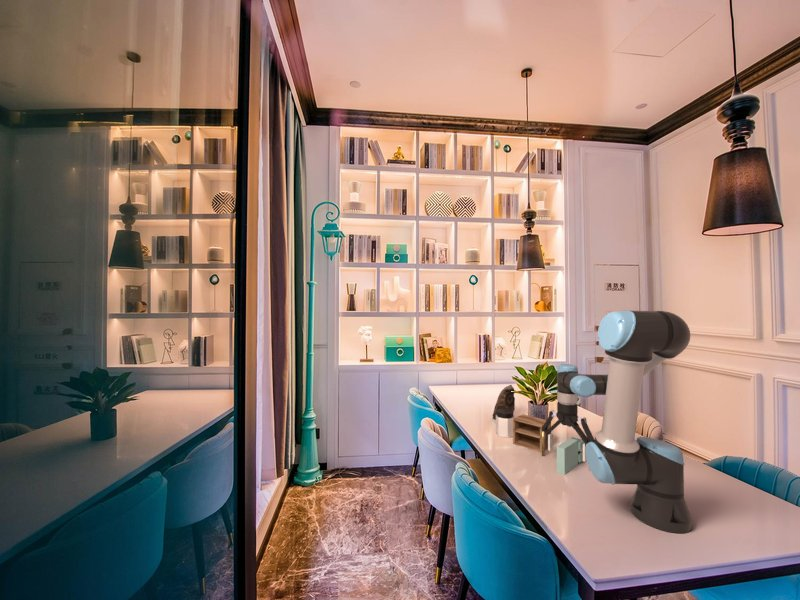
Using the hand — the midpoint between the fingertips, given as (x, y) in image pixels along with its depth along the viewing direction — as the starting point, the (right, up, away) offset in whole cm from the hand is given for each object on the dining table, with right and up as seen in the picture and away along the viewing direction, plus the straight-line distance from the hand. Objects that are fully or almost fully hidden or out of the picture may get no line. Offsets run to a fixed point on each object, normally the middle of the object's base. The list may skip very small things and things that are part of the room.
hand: (567, 454), depth 142 cm
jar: (-14, -6, +37) cm, 40 cm away
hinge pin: (-5, -5, +11) cm, 13 cm away
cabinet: (-6, -6, +23) cm, 24 cm away
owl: (-7, -7, +61) cm, 62 cm away
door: (+2, -5, +1) cm, 6 cm away
